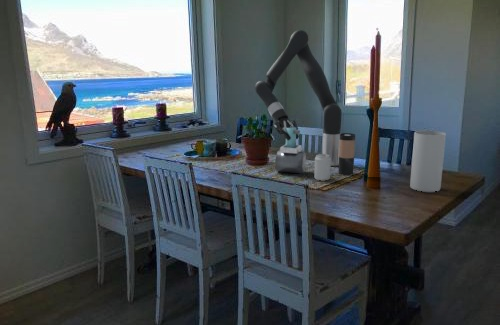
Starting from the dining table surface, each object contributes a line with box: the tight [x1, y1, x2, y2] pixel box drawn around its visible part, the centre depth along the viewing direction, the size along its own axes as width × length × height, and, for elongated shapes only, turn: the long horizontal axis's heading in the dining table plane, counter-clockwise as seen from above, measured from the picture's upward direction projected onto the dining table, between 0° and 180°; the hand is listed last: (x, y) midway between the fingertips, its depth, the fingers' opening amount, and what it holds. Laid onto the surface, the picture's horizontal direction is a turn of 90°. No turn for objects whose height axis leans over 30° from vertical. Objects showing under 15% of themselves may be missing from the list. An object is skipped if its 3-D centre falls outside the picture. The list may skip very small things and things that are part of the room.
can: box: [314, 153, 331, 182], centre depth 201 cm, size 8×8×12 cm
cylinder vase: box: [409, 130, 447, 193], centre depth 183 cm, size 12×12×25 cm
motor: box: [274, 143, 307, 174], centre depth 214 cm, size 13×11×14 cm
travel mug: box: [338, 132, 356, 176], centre depth 210 cm, size 8×8×20 cm
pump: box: [285, 126, 301, 148], centre depth 210 cm, size 8×5×10 cm, turn 39°
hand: (293, 138), depth 210 cm, fingers closed on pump, 5 cm apart
